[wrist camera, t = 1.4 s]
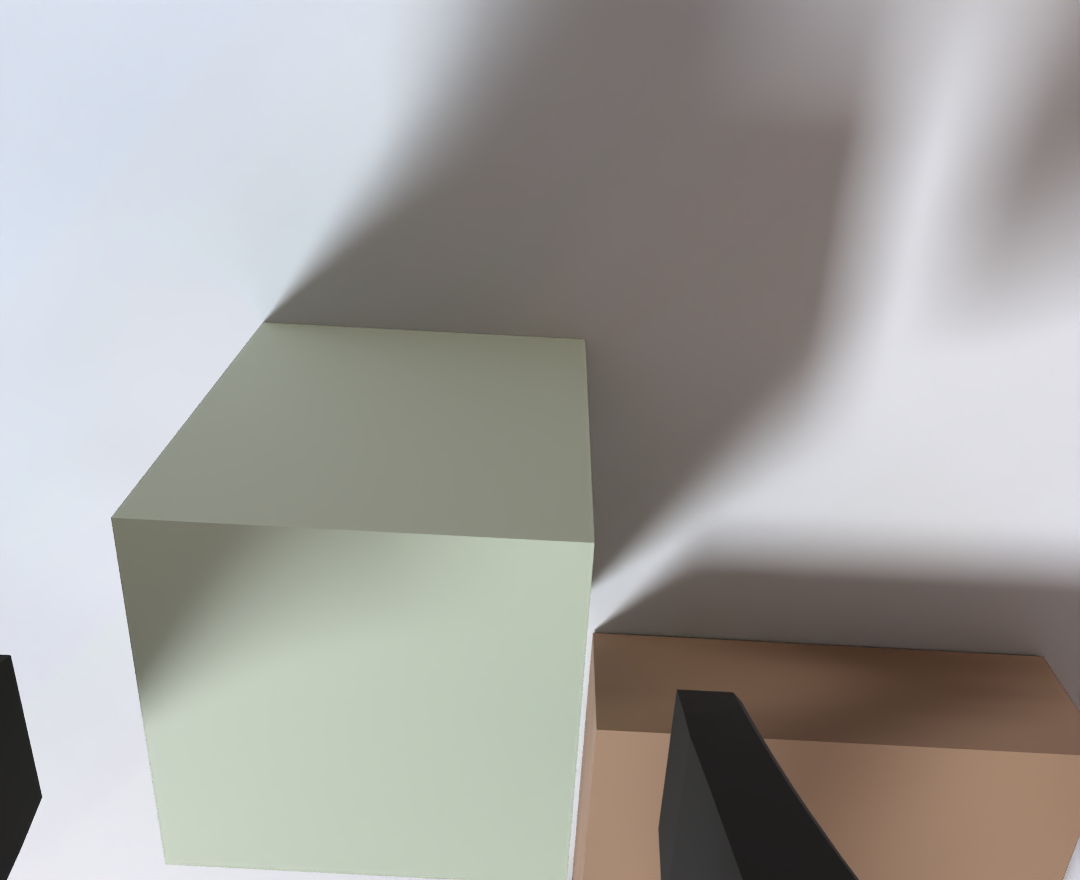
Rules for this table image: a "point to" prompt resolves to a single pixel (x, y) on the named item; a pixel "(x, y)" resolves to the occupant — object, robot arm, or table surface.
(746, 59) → the table surface
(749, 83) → the table surface
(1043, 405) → the table surface
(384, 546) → the sage block
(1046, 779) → the walnut base
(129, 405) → the table surface
